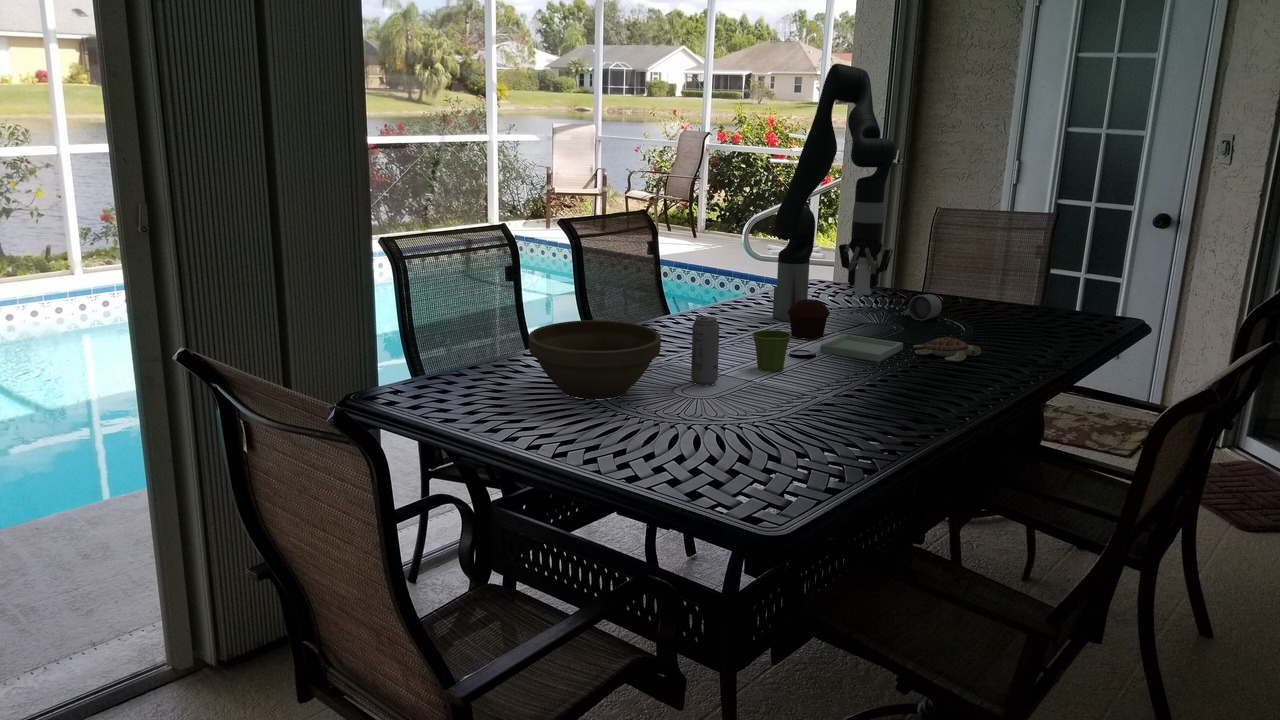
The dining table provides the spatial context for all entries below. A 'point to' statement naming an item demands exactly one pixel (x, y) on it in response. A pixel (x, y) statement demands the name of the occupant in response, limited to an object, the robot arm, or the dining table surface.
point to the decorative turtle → (948, 349)
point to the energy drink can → (705, 350)
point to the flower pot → (594, 355)
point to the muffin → (808, 319)
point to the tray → (861, 347)
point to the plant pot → (771, 349)
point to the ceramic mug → (923, 307)
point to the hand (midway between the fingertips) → (862, 286)
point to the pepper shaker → (862, 277)
